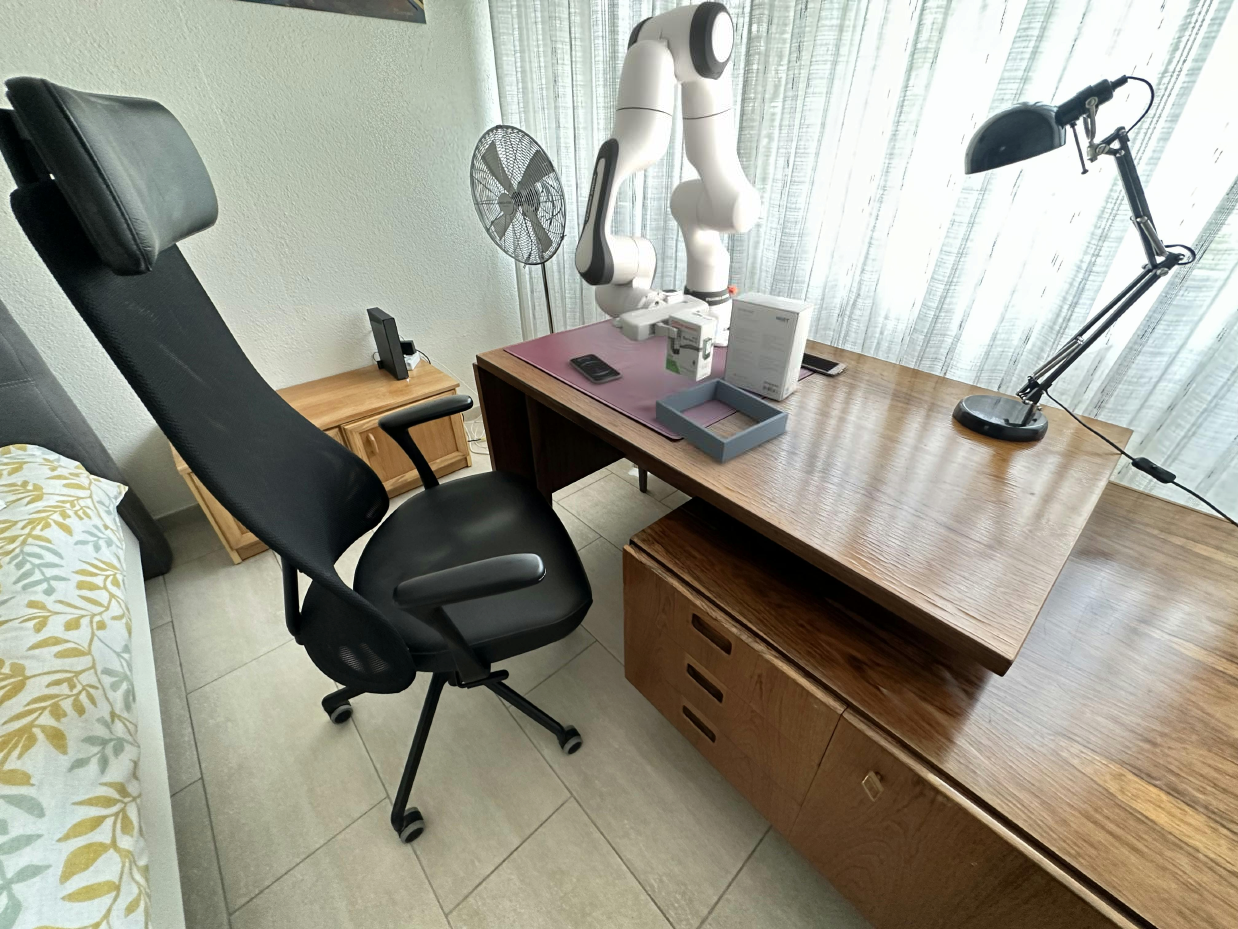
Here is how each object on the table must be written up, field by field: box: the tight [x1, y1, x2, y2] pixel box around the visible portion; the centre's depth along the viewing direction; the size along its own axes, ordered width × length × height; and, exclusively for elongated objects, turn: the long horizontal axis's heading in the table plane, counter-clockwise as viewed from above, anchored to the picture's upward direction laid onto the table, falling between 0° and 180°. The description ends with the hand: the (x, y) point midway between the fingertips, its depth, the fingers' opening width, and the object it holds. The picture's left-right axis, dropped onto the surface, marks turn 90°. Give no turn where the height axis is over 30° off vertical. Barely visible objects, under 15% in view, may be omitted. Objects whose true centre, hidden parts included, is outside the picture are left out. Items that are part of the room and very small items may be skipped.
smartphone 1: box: [569, 353, 621, 385], centre depth 120 cm, size 8×1×15 cm
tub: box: [655, 377, 790, 464], centre depth 96 cm, size 18×20×4 cm
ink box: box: [665, 309, 716, 382], centre depth 95 cm, size 9×5×12 cm, turn 43°
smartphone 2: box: [800, 351, 847, 377], centre depth 120 cm, size 7×15×1 cm, turn 43°
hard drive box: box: [722, 291, 815, 402], centre depth 105 cm, size 16×8×20 cm, turn 47°
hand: (690, 329), depth 93 cm, fingers closed on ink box, 5 cm apart
